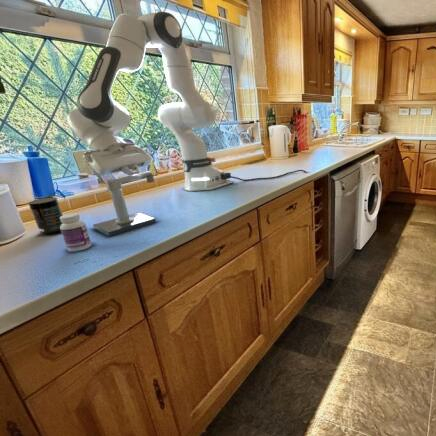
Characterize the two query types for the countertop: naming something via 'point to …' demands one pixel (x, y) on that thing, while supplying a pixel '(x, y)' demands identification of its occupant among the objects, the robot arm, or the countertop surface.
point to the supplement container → (47, 215)
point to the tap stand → (122, 217)
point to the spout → (128, 180)
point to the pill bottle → (74, 232)
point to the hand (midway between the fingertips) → (138, 176)
